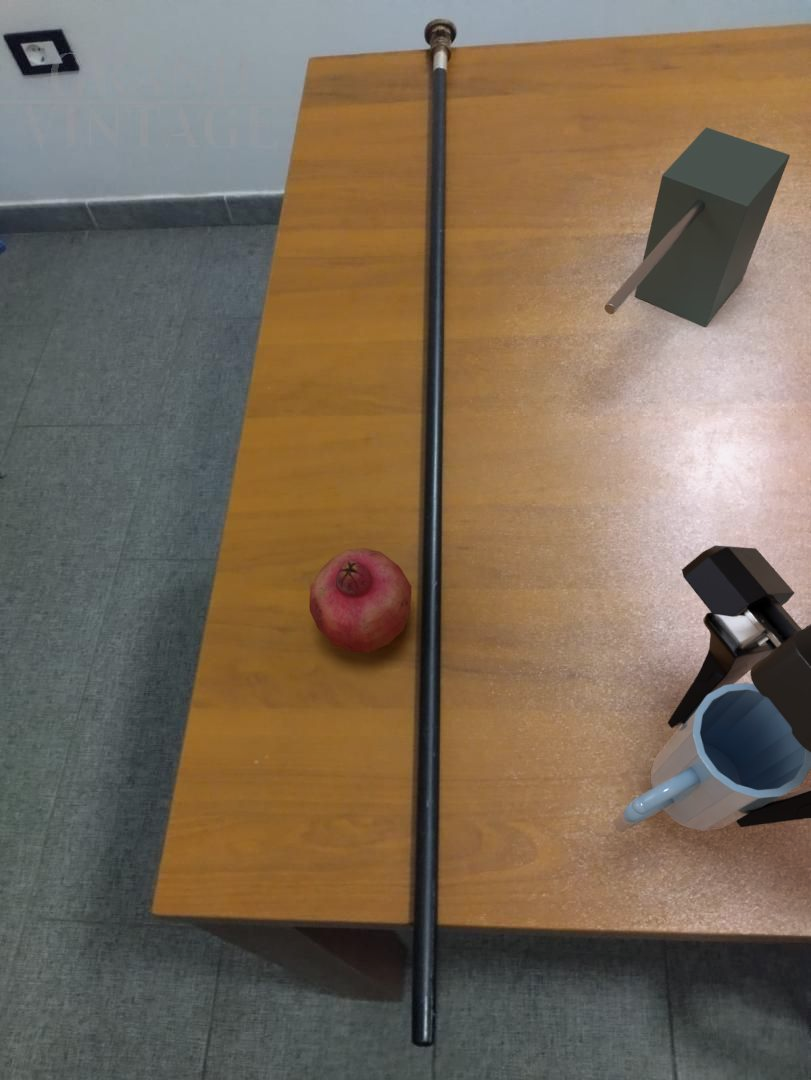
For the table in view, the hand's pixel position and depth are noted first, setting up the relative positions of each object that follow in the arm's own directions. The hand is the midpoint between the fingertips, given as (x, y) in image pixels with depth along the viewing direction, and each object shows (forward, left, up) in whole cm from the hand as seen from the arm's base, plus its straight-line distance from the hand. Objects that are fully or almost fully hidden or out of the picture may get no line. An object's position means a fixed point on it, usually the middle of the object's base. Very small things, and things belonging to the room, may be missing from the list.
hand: (704, 771), depth 44 cm
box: (+1, -46, -11) cm, 47 cm away
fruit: (+24, -12, -12) cm, 29 cm away
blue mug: (0, 0, -7) cm, 7 cm away
